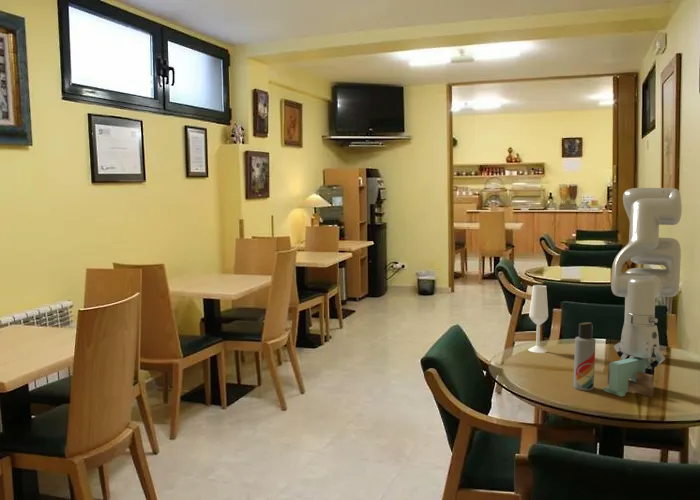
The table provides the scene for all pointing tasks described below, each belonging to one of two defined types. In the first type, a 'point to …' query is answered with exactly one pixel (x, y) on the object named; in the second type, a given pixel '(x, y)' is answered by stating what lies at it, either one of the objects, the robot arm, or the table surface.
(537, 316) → the champagne flute
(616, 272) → the robot arm
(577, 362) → the lotion bottle
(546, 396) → the table surface
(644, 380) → the brown u-shaped block
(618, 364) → the teal notched bracket
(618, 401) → the table surface
